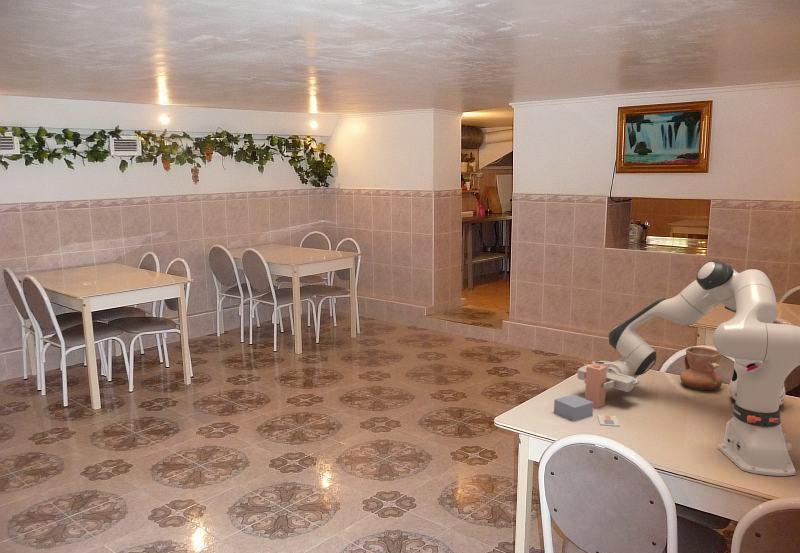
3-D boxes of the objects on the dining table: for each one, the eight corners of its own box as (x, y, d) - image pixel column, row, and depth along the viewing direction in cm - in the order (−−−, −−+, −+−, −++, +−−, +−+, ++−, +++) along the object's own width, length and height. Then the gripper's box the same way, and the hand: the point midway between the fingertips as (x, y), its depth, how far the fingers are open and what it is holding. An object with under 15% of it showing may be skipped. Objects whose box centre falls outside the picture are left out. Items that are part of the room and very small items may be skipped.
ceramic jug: (732, 393, 241) (735, 355, 239) (697, 395, 238) (700, 357, 236) (701, 378, 258) (704, 343, 256) (668, 380, 256) (671, 344, 254)
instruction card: (619, 426, 211) (619, 425, 211) (600, 425, 213) (600, 423, 212) (616, 416, 219) (616, 415, 219) (597, 415, 220) (597, 414, 220)
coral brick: (604, 404, 230) (607, 365, 227) (597, 408, 226) (599, 368, 224) (592, 401, 233) (594, 362, 231) (584, 404, 230) (586, 365, 227)
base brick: (592, 416, 220) (593, 402, 220) (573, 422, 216) (574, 407, 215) (572, 407, 228) (572, 394, 227) (553, 413, 223) (554, 399, 222)
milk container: (771, 416, 219) (776, 364, 216) (719, 401, 232) (723, 353, 229) (791, 404, 230) (797, 354, 227) (741, 390, 243) (745, 344, 240)
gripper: (641, 390, 230) (621, 400, 221) (589, 376, 245) (568, 385, 236) (642, 372, 229) (622, 382, 220) (589, 360, 244) (569, 368, 234)
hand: (594, 383), depth 228 cm, fingers closed on coral brick, 5 cm apart
